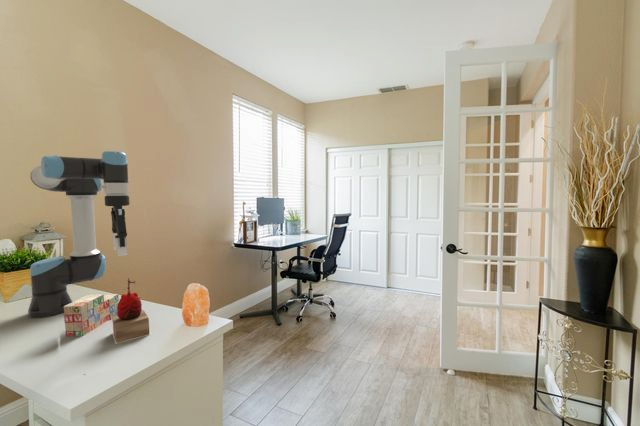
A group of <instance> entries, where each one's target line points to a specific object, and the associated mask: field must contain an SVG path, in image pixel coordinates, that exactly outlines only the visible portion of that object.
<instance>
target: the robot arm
mask: <svg viewBox="0 0 640 426" xmlns="http://www.w3.org/2000/svg"><path fill="white" fill-rule="evenodd" d="M40 160H41V161H40V165H38V166H36V167H35V168H33V169H32V171H31V172H30V174H29V175H30V176H29V177H30V181H31V183H33V184H34V185H35V186H36V187H37V188H39V189H42V190H46V191H49V192H55V193H56V192H58V193H60V192H62V193H63V192H64V193H65V196H66V197H67V198H69V200H70V209H71V210H70V211H71V225H72V227H71V228H72V241H73V242H72V244H73V250H72V252H70V253H69V258H65V257H64V256H56V257H54V256H53V257H48V258H45V259H40V260H38V261H36V262H33V263H32V264H31V265H30V268H29V270H30V271H29V277H30V282H31V284H30V285H31V296H32V297H31V300H30V303H29V306H28V309H27V314H28V316H27V317H28V318H36V319H37V318H45V317H50V316H51V317H52V316H56V315H59V314H64V306H65V305H68V304H70V303H72V302H73V300H72V298H71V296H70V294H69V292H68V290H67V289H68V288H67V286H68V285H69V286H70V285H73V284H78V283H84V282H89V281H90V282H91V281H94V280H99V279H101V278H102V277H103V276H104V275H105V272H106V268H107V267H106V266H107V265H106V264H107V263H106V262H107V261H106V256H105V255H104V254H102V253H101V251H100V250H99V249H98V248H97V237H96V219H95V202H94V201H95V200H94V199H95V198H96V197H98V192H100V191H102V189H103V192H104V194H105V196H104V197H103V198H104V205H105V206H106V207H111V211H110V216H111V230H112V231H111V232H112V240H113V241H112V243H113V245H112V247H113V251H117V257H125V256H128V246H127V245H128V244H127V236H128V232H127V225H126V224H127V223H126V211H125V208H123V207H124V206H130V196H129V194H130V186H129V185H130V184H129V172H128V171H129V169H128V167H129V166H128V164H129V161H128V157H127V154H126V153H125V152H122V151H109V150H107V151H103V152H102V154H101V158H94V157H70V156H58V155H44V156H42V157H41V159H40ZM102 180H103V183H102ZM102 184H103V185H102Z"/></svg>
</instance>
